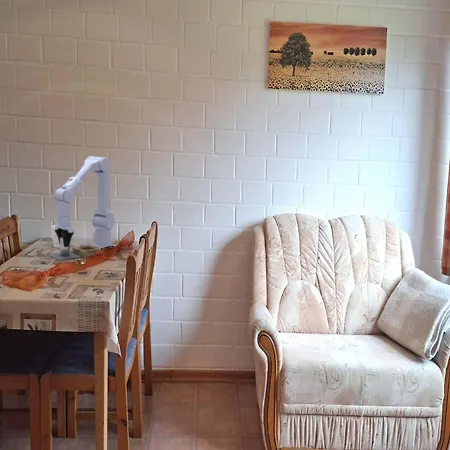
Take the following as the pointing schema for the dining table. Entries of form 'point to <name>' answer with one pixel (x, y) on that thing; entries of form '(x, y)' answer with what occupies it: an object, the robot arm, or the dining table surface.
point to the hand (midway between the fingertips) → (64, 245)
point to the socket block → (85, 250)
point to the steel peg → (64, 248)
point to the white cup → (55, 237)
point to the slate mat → (59, 257)
